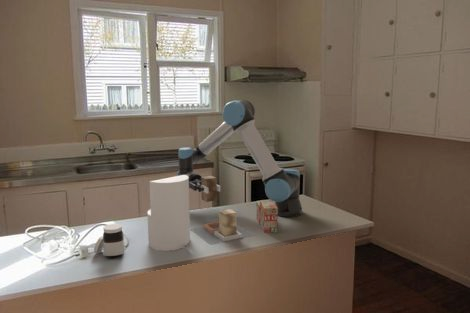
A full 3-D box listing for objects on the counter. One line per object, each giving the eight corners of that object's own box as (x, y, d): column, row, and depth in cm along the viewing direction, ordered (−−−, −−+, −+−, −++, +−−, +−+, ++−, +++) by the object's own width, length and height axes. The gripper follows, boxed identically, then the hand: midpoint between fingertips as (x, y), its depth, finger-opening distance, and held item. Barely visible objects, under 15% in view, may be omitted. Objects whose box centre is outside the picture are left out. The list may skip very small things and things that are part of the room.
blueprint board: (232, 223, 192) (232, 218, 192) (255, 236, 175) (255, 231, 175) (190, 231, 182) (190, 226, 181) (210, 246, 164) (210, 241, 164)
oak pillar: (230, 232, 177) (230, 209, 176) (236, 236, 173) (236, 212, 171) (219, 235, 175) (219, 210, 173) (225, 239, 170) (225, 214, 168)
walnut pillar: (211, 197, 195) (211, 175, 193) (216, 200, 190) (216, 177, 189) (201, 199, 192) (200, 177, 191) (206, 201, 188) (205, 179, 186)
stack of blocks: (256, 218, 199) (256, 194, 197) (268, 218, 200) (268, 194, 198) (263, 234, 178) (263, 207, 176) (277, 233, 179) (277, 207, 177)
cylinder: (198, 242, 169) (197, 177, 164) (164, 254, 157) (162, 185, 152) (173, 232, 181) (171, 171, 176) (140, 242, 169) (137, 177, 164)
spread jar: (124, 259, 152) (123, 230, 150) (93, 262, 149) (91, 233, 147) (124, 247, 164) (122, 220, 162) (94, 250, 161) (93, 222, 159)
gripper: (210, 185, 211) (231, 194, 191) (177, 189, 202) (195, 200, 182) (209, 171, 210) (231, 179, 190) (176, 175, 201) (195, 184, 181)
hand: (213, 189), depth 186 cm, fingers closed on walnut pillar, 5 cm apart
